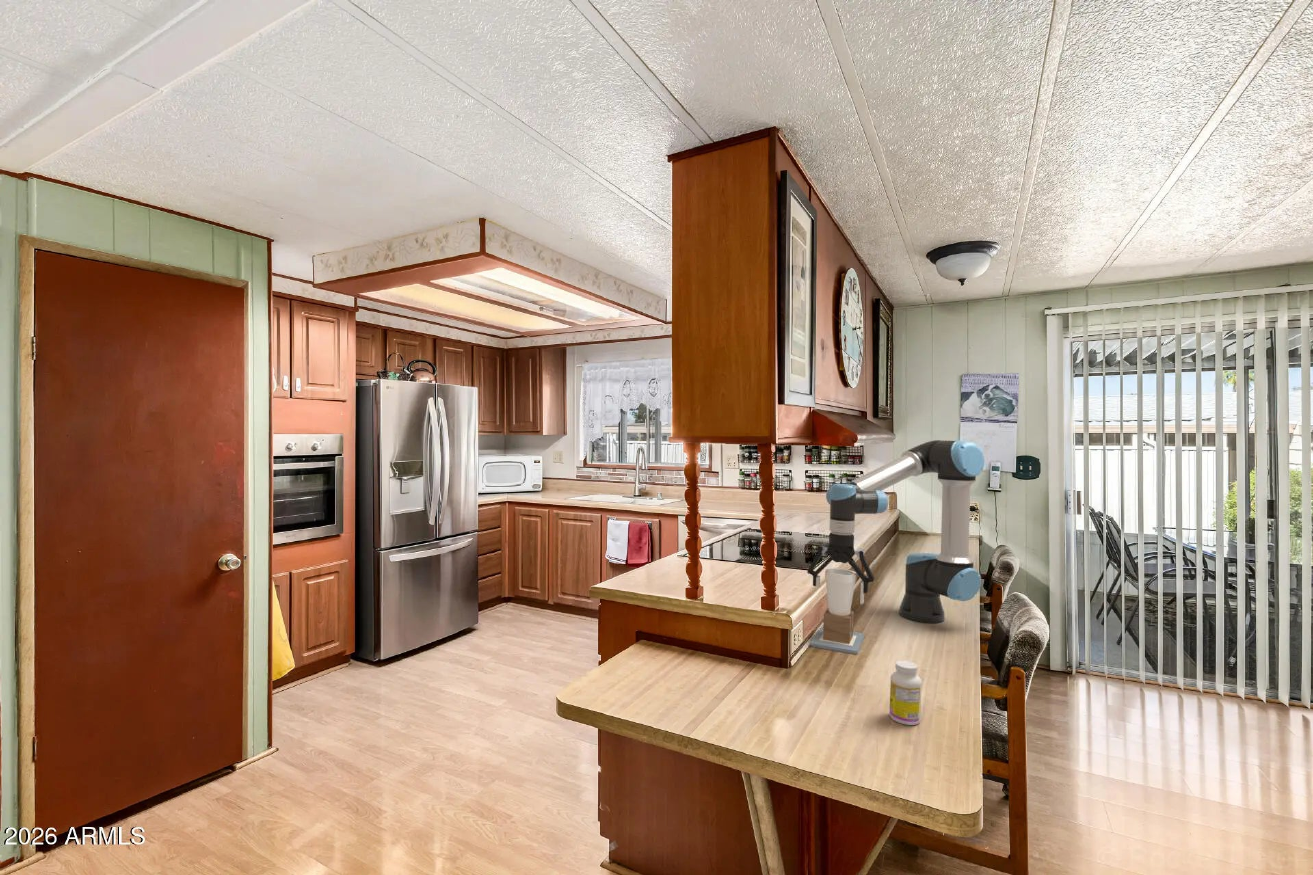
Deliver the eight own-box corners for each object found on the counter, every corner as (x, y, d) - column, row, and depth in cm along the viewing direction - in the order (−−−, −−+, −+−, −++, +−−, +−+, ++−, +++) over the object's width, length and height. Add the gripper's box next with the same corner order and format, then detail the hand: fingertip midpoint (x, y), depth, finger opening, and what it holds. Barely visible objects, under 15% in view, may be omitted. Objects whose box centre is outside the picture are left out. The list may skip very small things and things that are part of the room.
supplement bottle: (894, 709, 143) (896, 656, 142) (923, 718, 138) (925, 663, 138) (885, 719, 137) (887, 664, 137) (915, 729, 133) (917, 672, 133)
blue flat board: (820, 629, 200) (820, 625, 200) (864, 636, 194) (864, 633, 194) (810, 646, 184) (810, 642, 184) (857, 654, 178) (857, 650, 178)
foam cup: (817, 609, 191) (819, 569, 191) (839, 607, 195) (841, 567, 195) (838, 618, 182) (840, 576, 182) (861, 615, 186) (862, 574, 186)
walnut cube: (827, 631, 194) (828, 607, 194) (852, 636, 191) (853, 611, 191) (822, 639, 187) (823, 614, 187) (849, 643, 183) (850, 618, 183)
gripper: (799, 530, 190) (797, 596, 191) (882, 538, 180) (880, 608, 180) (804, 527, 197) (802, 591, 197) (884, 535, 186) (882, 602, 187)
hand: (839, 599), depth 189 cm, fingers open, 13 cm apart
